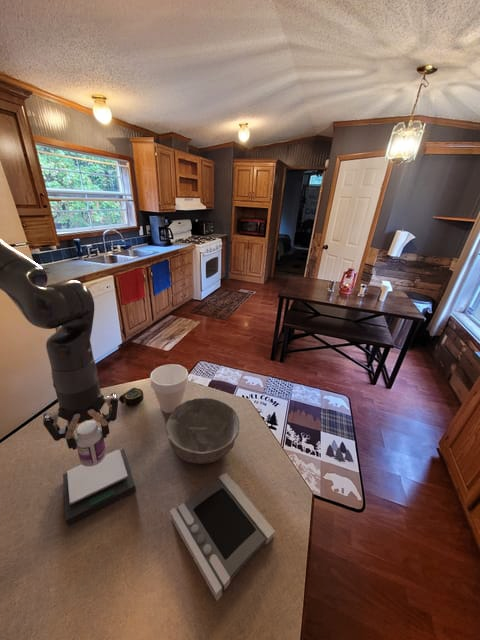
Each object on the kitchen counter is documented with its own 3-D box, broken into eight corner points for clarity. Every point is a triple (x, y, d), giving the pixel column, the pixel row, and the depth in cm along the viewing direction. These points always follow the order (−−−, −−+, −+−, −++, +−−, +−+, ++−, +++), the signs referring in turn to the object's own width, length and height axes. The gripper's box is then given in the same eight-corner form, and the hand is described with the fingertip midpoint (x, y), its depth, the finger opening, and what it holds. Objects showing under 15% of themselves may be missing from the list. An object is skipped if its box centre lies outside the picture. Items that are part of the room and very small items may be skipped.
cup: (195, 401, 93) (195, 370, 87) (174, 424, 82) (172, 390, 77) (168, 390, 97) (166, 360, 92) (144, 411, 87) (141, 378, 81)
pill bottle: (101, 443, 63) (96, 414, 60) (109, 458, 60) (104, 427, 56) (77, 456, 60) (69, 426, 56) (84, 472, 56) (76, 441, 53)
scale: (68, 527, 54) (64, 516, 53) (64, 480, 63) (61, 471, 62) (135, 491, 62) (134, 482, 61) (124, 455, 71) (123, 445, 70)
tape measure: (135, 393, 94) (134, 384, 93) (148, 400, 92) (147, 391, 90) (119, 403, 89) (117, 395, 87) (132, 411, 86) (131, 402, 85)
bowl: (251, 457, 73) (254, 431, 69) (185, 496, 62) (184, 468, 58) (215, 412, 89) (216, 389, 85) (157, 437, 77) (155, 411, 73)
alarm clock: (169, 511, 56) (227, 464, 65) (171, 522, 58) (227, 476, 68) (216, 593, 44) (277, 522, 54) (217, 604, 46) (275, 534, 56)
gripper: (112, 362, 58) (120, 418, 65) (32, 380, 50) (51, 442, 57) (119, 379, 52) (127, 439, 59) (31, 404, 44) (51, 469, 51)
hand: (89, 440), depth 58 cm, fingers closed on pill bottle, 5 cm apart
